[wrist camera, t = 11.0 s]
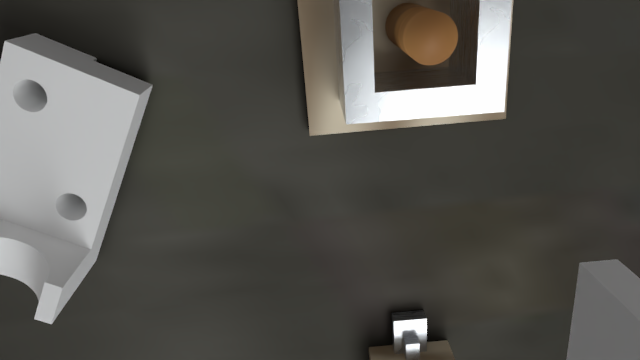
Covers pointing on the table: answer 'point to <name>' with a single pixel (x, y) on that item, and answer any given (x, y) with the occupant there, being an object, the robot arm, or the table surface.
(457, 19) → the link
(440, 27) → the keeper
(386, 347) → the beige box with knob
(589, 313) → the robot arm
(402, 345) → the wall hook
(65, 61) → the bracket
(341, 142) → the table surface
